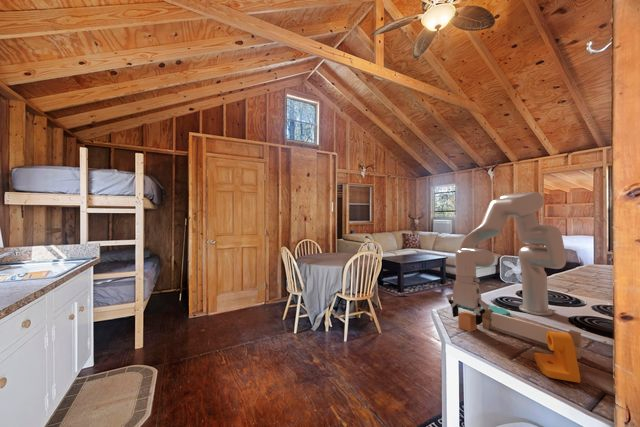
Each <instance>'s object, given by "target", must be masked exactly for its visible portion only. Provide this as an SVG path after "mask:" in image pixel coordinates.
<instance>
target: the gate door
mask: <svg viewBox="0 0 640 427" xmlns="http://www.w3.org/2000/svg"><path fill="white" fill-rule="evenodd" d="M492 326H493V327H496V328H499V329H503V330H506V331H509V332H512V333H515V334H518V335H521V336H525V337H528V338H531V339H534V340H537V341H540V342H543V343H547V340H546V333H547V331H553V332H561V333H568V331H567V332H566V331H562V330H559V329H555V328H552V327H548V326H545V325H541V324H538V323H534V322H530V321H526V320H523V319H520V318H515V317H512V316H510V317H509V316H505V315H501V314H498V313H494V312H492Z"/></svg>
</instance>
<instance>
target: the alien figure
mask: <svg viewBox="0 0 640 427" xmlns="http://www.w3.org/2000/svg"><path fill="white" fill-rule="evenodd" d="M488 305H489V308H490V309H491V317H492V312H494V313H498V314H501V315H505V316H509V317H511V312H510V311H508V310H507V309H505V308H504V307H499V306H496V305H491V304H489V303H488ZM457 307H458V308H459V307H460V308H462V309H467V310H469V311H473V312H472V313H473V314H476V315H477V313H476V312H475V310H474V309H471V308H467V307H464V306H460V305H457ZM480 308H481V309H482V308H483V306H481V307H480Z"/></svg>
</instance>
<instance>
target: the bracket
mask: <svg viewBox="0 0 640 427" xmlns="http://www.w3.org/2000/svg"><path fill="white" fill-rule="evenodd" d="M546 340H547V344H548V347H549V348H548V347H547V348H548V349H549V351H553V354H547V353H543V352H542V353H541V352H534V360H535V362H536V365H537V367H538V369H539V371H541V373H542V374H543V375H544V376H546V377H548V378H551V379H557V380H563V381H567V382H572V383H578V384H581V374H580V369H579V364H578V359H577V358H576V353H575V348H574V343H573V339H572V337H571V335H570V334H568V332H567V333H561V332H553V331H547V333H546Z"/></svg>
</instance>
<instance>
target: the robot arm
mask: <svg viewBox="0 0 640 427" xmlns="http://www.w3.org/2000/svg"><path fill="white" fill-rule="evenodd" d="M544 203H545V200H544V197H543V194H541V193H539V192H537V191H529V192H528V191H526V192H514V193H513V192H512V193H507V194H503V195H501V196H500V197H499V198H495V199H493V200H491V201H490V202H489V204H488V206H487V208H486V210H485V213H484V215H483V218H482V220H481V222H480V223H479V226H477V227H476V228H475V229H473V230H472V231H471V232H470V233H468V234H467V235H466V236H465V237H464V238H463V240H462V242H461V243H460V246H459V249H457V250H456V251H455V257H454V258H455V280H454V282H453V288H452V293H450V294H447V295H446V299H447V301H448V303H449V304H450V307H451V309H452V310H451V312H452V317H453V318H456V317H458V313H459V307H457V305H460V306H464V307H467V308H471V309H474V310H475V312H476V313H477V315H476V324H477V326H479V325H482V314H484V313H485V312H486V311H487V310H488V308H489V305H490V304H489V303H488V304H489V305H488V304H487V303H486V302H485V301H483V300H482V293H481V289H480V288H481V287H480V284H479V283H480V278H478V277H477V268H478V267H479V268H480V267H481V268H488V267H491V266H492V265H493V264H494V263H495V260H496V258H495V254H494V253H493V252H492V251H490V250H488V249H485V248H476V246H477V245H478V244H479V243H481V242H483V241H486V240H488V239H492V238H494V237H497V236H498V235H499V236H500V235H501V233H502V232H503V229H504V226H505V223H506V221H507V219H508V218H513V219H514V222H515V226H516V233H517V235H518V239H519V241H520V242H521V243H522V244H525V246H522V247H520V248H519V251H518V259H519V262H520V268H521V285H522V286H521V288H522V289H521V290H522V291H521V292H522V304H520V305H519V306H518V308H519V310H520V311H521V312H524V313H527V314H531V315H537V316H552V315H553V314H554V313H553V312H554V311H553V310H552V309H550V308H549V297H548V296H549V295H548V294H549V292H548V291H549V290H548V288H549V287H548V275H547V272H546V271H545V270H544V268H548V269H555V270H559V269H563V268H564V267H565V266H566V263H567V255H566V250H565V244H564V239H563V236H562V232H561V230H560V229H559V228H558V227H556V226H555V225H551V224H540V223H539V221H538V217H537V213H536V212H538V211H539V210H541V209H542V208H543V206H544ZM481 306H483V309H481V308H480V307H481ZM467 308H466V309H467ZM474 310H473V311H474Z"/></svg>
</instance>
